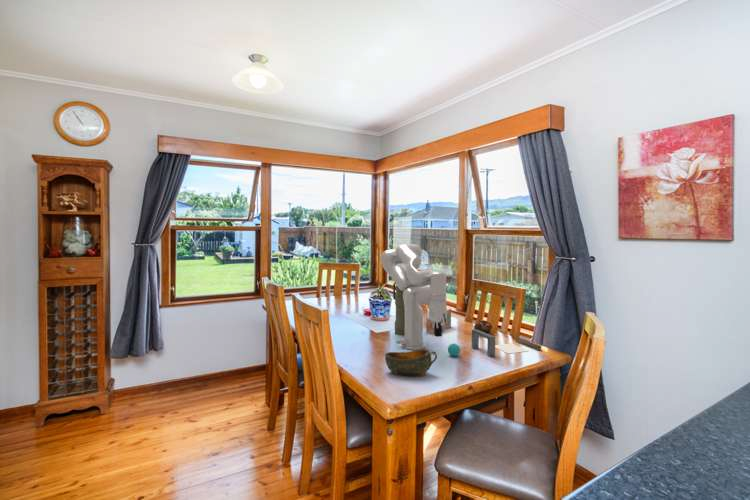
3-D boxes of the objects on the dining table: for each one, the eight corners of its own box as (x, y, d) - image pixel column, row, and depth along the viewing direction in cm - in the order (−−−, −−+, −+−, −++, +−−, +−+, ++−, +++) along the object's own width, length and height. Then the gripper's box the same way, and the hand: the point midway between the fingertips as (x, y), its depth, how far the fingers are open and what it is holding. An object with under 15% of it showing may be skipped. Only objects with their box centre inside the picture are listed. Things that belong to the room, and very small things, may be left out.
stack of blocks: (435, 334, 218) (435, 314, 218) (426, 333, 222) (426, 312, 221) (451, 327, 236) (451, 308, 235) (442, 325, 239) (442, 307, 239)
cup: (424, 384, 147) (425, 358, 147) (382, 373, 158) (382, 350, 158) (438, 374, 158) (438, 350, 158) (397, 365, 169) (397, 343, 169)
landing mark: (508, 353, 185) (508, 353, 185) (491, 346, 197) (491, 345, 197) (529, 351, 189) (529, 350, 189) (511, 343, 201) (511, 343, 201)
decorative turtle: (469, 335, 218) (469, 321, 218) (480, 331, 229) (480, 318, 229) (485, 337, 211) (485, 323, 212) (496, 333, 223) (496, 320, 223)
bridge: (489, 357, 179) (490, 337, 179) (471, 347, 194) (471, 329, 193) (494, 356, 181) (495, 336, 180) (476, 347, 195) (476, 329, 194)
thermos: (409, 336, 214) (410, 276, 212) (390, 333, 219) (390, 275, 217) (413, 332, 222) (414, 274, 221) (395, 330, 227) (396, 273, 225)
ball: (451, 358, 177) (452, 346, 177) (445, 354, 183) (445, 342, 182) (462, 357, 179) (462, 345, 179) (455, 353, 185) (455, 341, 185)
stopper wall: (538, 350, 189) (538, 346, 189) (515, 342, 204) (516, 337, 204) (541, 350, 190) (541, 345, 190) (518, 341, 205) (519, 337, 205)
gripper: (423, 296, 182) (423, 333, 182) (439, 300, 168) (439, 340, 168) (436, 295, 184) (437, 331, 185) (453, 299, 170) (453, 339, 171)
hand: (438, 336), depth 177 cm, fingers closed
